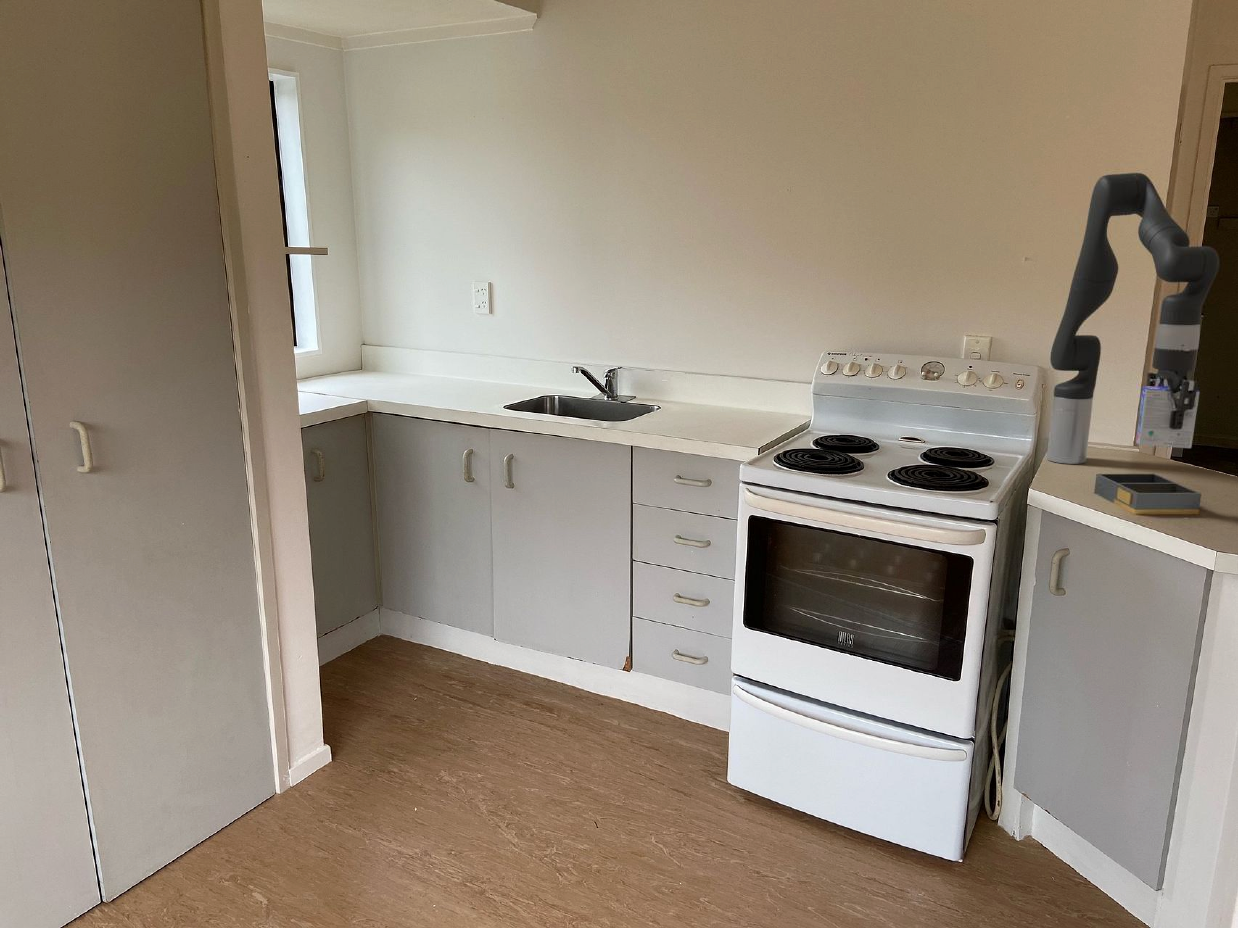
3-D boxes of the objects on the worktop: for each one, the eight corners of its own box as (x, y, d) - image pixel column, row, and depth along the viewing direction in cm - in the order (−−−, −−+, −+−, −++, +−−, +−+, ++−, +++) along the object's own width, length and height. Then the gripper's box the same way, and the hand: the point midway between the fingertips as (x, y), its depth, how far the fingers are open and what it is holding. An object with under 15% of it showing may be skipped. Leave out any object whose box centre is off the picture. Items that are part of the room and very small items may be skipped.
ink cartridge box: (1188, 443, 179) (1198, 375, 176) (1193, 449, 174) (1203, 380, 171) (1134, 440, 183) (1143, 374, 180) (1137, 446, 178) (1147, 378, 175)
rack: (1092, 492, 195) (1095, 473, 194) (1152, 492, 194) (1154, 473, 193) (1133, 514, 178) (1135, 493, 177) (1198, 514, 177) (1201, 493, 176)
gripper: (1138, 343, 181) (1128, 419, 185) (1178, 350, 167) (1166, 432, 171) (1174, 342, 181) (1163, 419, 185) (1217, 349, 167) (1205, 432, 171)
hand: (1165, 425), depth 178 cm, fingers closed on ink cartridge box, 6 cm apart
